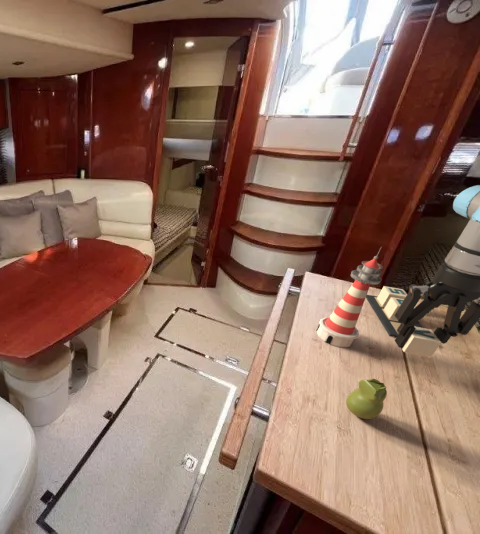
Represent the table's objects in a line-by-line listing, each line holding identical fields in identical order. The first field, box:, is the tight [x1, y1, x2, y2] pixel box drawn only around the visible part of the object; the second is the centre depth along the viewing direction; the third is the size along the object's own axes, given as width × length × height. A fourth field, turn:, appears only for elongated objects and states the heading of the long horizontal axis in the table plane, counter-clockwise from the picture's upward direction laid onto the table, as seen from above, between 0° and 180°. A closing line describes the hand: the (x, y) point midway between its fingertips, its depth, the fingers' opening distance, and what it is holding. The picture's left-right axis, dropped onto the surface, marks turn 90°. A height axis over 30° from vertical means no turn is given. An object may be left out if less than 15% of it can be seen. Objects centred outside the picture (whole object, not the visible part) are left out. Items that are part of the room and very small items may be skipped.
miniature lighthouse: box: [316, 246, 384, 348], centre depth 82 cm, size 9×9×30 cm
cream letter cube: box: [401, 326, 442, 359], centre depth 76 cm, size 5×5×5 cm
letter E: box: [384, 297, 417, 320], centre depth 95 cm, size 5×5×5 cm
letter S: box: [377, 285, 408, 307], centre depth 100 cm, size 5×5×5 cm
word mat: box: [365, 294, 425, 338], centre depth 96 cm, size 10×22×1 cm, turn 156°
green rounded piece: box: [345, 378, 388, 420], centre depth 67 cm, size 6×5×10 cm
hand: (413, 347), depth 77 cm, fingers closed on cream letter cube, 5 cm apart
